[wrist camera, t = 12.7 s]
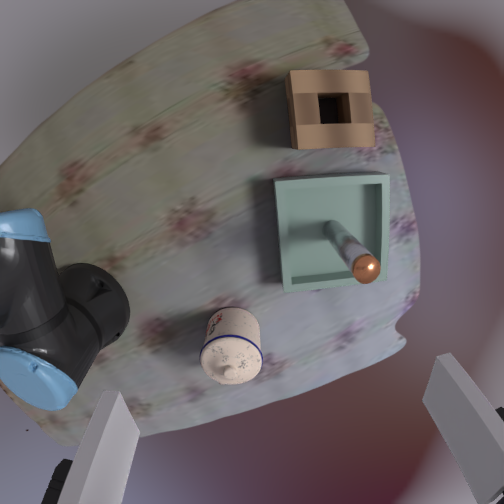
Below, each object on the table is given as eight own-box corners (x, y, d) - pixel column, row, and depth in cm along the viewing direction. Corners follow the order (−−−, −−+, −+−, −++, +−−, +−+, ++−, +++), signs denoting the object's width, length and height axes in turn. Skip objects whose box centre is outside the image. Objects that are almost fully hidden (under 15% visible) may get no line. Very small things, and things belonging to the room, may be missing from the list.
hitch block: (291, 148, 42) (298, 149, 36) (284, 79, 39) (290, 70, 33) (359, 145, 42) (375, 146, 36) (353, 78, 38) (367, 70, 33)
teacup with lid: (212, 299, 50) (203, 342, 39) (267, 312, 51) (272, 357, 40) (198, 355, 54) (189, 401, 43) (248, 366, 55) (248, 413, 44)
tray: (281, 282, 49) (283, 292, 46) (273, 178, 44) (275, 181, 40) (378, 271, 49) (386, 280, 45) (379, 171, 43) (389, 174, 40)
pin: (322, 240, 46) (353, 285, 32) (322, 220, 45) (354, 258, 31) (342, 238, 46) (379, 281, 31) (342, 218, 45) (381, 255, 30)
